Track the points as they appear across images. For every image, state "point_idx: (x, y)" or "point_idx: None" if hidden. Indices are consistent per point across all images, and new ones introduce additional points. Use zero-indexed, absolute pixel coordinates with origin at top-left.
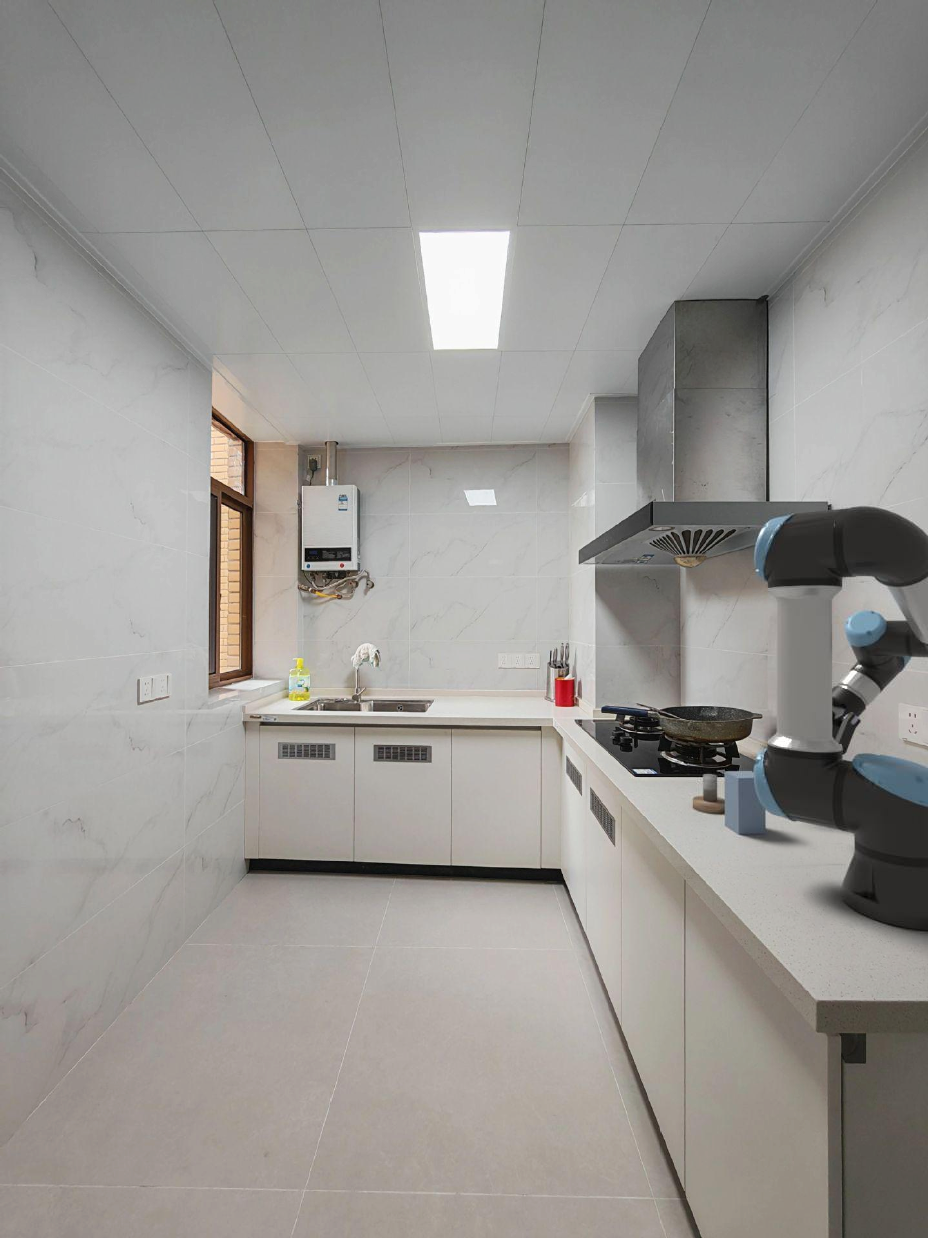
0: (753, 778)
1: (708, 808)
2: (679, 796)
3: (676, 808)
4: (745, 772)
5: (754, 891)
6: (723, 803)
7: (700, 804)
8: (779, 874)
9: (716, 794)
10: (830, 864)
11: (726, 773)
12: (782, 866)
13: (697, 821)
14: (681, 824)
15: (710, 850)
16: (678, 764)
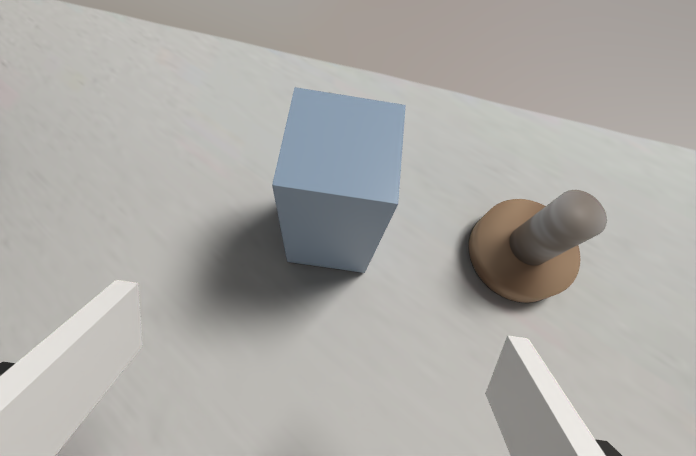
0: (283, 141)
1: (481, 219)
2: (645, 245)
3: (528, 177)
4: (374, 166)
5: (36, 44)
6: (495, 263)
7: (499, 203)
8: (69, 127)
9: (526, 246)
10: (51, 270)
11: (388, 105)
12: (99, 159)
13: (419, 167)
14: (404, 123)
15: (236, 88)
16: None
